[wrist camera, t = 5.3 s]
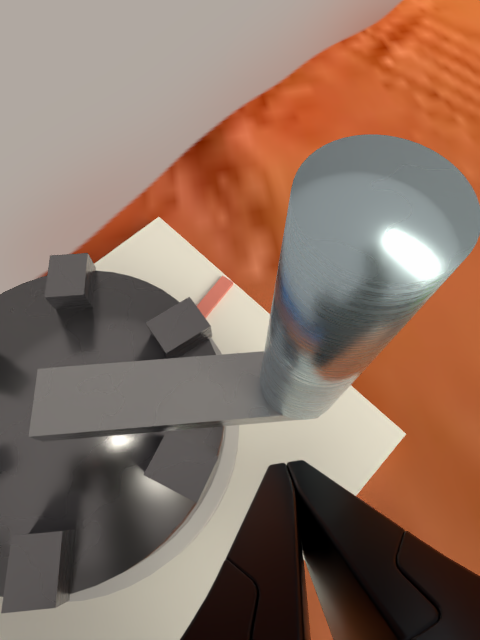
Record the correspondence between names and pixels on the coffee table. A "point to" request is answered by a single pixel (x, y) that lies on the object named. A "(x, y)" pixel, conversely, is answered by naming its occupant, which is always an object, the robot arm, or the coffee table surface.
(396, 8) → the coffee table surface
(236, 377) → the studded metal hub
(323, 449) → the mounting plate
